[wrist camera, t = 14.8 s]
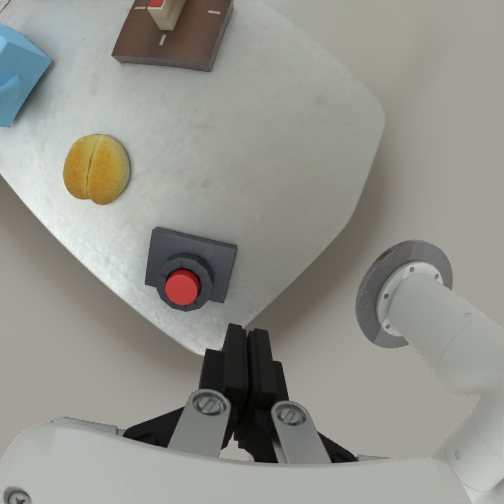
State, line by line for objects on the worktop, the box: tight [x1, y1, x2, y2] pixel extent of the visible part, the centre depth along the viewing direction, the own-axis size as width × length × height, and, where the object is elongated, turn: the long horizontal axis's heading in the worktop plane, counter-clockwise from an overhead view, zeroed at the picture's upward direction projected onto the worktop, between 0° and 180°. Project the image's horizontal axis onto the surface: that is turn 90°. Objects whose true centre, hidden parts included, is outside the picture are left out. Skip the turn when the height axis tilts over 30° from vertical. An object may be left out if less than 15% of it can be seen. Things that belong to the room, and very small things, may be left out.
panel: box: [111, 0, 233, 72], centre depth 25 cm, size 12×12×3 cm
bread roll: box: [63, 134, 130, 205], centre depth 29 cm, size 8×9×4 cm
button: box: [165, 270, 199, 305], centre depth 32 cm, size 4×4×2 cm
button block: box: [145, 227, 237, 312], centre depth 33 cm, size 10×8×4 cm
